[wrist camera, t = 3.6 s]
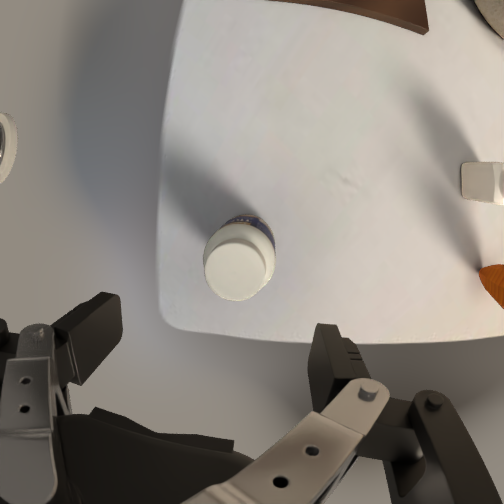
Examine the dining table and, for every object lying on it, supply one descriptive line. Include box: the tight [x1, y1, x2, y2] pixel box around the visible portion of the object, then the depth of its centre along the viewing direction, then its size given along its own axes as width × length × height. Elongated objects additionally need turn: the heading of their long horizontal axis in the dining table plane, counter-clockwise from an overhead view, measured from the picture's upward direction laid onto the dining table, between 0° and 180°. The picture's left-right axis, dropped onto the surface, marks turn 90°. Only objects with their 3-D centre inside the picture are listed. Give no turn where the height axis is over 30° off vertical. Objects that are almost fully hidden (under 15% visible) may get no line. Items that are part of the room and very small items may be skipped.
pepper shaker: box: [461, 162, 504, 205], centre depth 21 cm, size 4×4×10 cm
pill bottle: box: [203, 215, 276, 301], centre depth 24 cm, size 5×5×10 cm
